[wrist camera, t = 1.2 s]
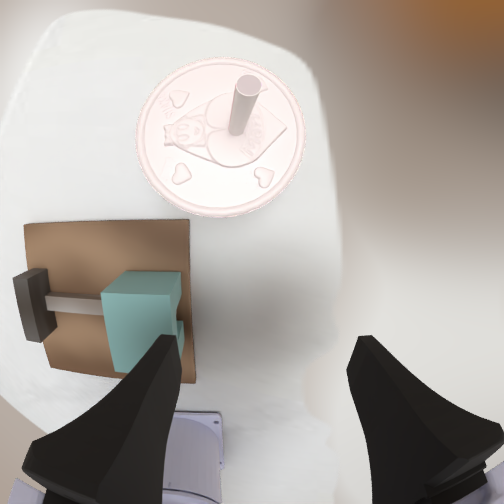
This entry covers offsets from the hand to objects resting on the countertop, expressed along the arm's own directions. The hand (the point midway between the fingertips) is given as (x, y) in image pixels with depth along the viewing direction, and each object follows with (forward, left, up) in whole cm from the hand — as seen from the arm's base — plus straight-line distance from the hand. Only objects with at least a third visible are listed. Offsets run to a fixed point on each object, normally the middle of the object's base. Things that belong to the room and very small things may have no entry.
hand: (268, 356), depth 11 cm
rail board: (-2, +11, -10) cm, 15 cm away
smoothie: (+8, +2, -10) cm, 14 cm away
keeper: (-2, +6, -9) cm, 11 cm away
